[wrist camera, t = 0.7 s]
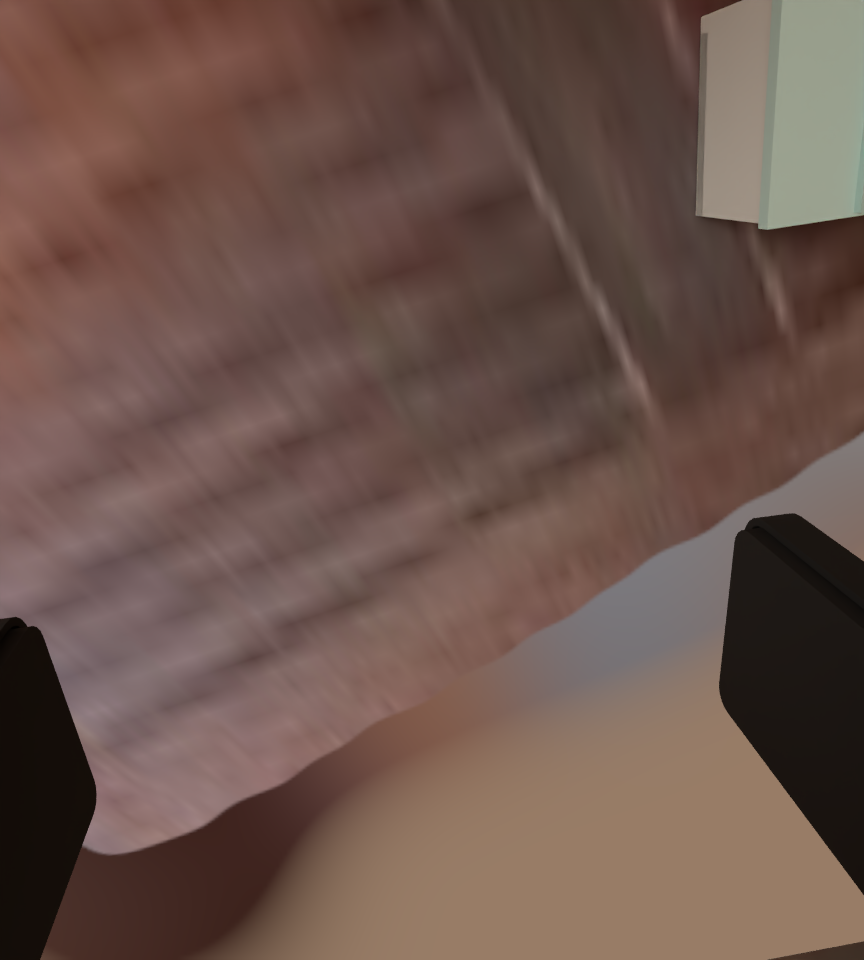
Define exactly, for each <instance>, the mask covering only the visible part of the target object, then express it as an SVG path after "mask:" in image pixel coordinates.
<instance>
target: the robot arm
mask: <svg viewBox="0 0 864 960" xmlns="http://www.w3.org/2000/svg"><path fill="white" fill-rule="evenodd" d="M719 690H720V696H721V699H722V702H723V705H724V707H725V709H726V710H727V712H728V714H729V715H730V716H731V718H732V719H733V720H734V722H735V723H736V724H737V726H738V727H739V728H740V730H741V731H742V732H743V734H744V735H745V736H746V738H747V739H748V740H749V742H750V743H751V744H752V746H753V747H754V749H755V750H756V751H757V753H758V754H759V755H760V757H761V758H762V759H763V760H764V762H765V763H766V764H767V766H768V767H769V769H770V770H771V771H772V773H773V774H774V775H775V777H776V778H777V779H778V780H779V782H780V783H781V785H782V786H783V787H784V789H785V790H786V791H787V793H788V794H789V795H790V797H791V798H792V799H793V801H794V802H795V803H796V805H797V806H798V807H799V809H800V810H801V811H802V813H803V814H804V815H805V817H806V818H807V820H808V821H809V822H810V824H811V825H812V826H813V828H814V829H815V830H816V831H817V833H818V834H819V836H820V837H821V838H822V839H823V841H824V842H825V844H826V845H827V846H828V848H829V849H830V850H831V852H832V853H833V854H834V856H835V857H836V858H837V860H838V861H839V862H840V864H841V865H842V866H843V868H844V869H845V870H846V872H847V873H848V874H849V876H850V877H851V878H852V880H853V881H854V883H855V884H856V885H857V886H858V888H859V889H860V890H861V892H862V893H863V895H864V561H862V560H861V559H859V558H858V557H857V556H855V555H854V554H852V553H851V552H850V551H848V550H847V549H845V548H844V547H843V546H841V545H840V544H838V543H837V542H836V541H834V540H833V539H831V538H830V537H829V536H827V535H826V534H824V533H823V532H822V531H820V530H819V529H818V528H816V527H815V526H813V525H812V524H811V523H809V522H808V521H806V520H805V519H804V518H802V517H801V516H799V515H797V514H783V515H776V516H769V517H760V518H753V519H752V520H750V521H749V522H748V524H747V526H746V528H745V530H741V531H740V532H738V534H737V536H736V538H735V543H734V552H733V562H732V571H731V580H730V589H729V599H728V608H727V617H726V626H725V635H724V644H723V654H722V663H721V672H720V681H719ZM95 806H96V785H95V781H94V778H93V775H92V772H91V770H90V767H89V764H88V761H87V758H86V756H85V753H84V750H83V747H82V744H81V742H80V739H79V736H78V733H77V730H76V727H75V725H74V722H73V719H72V716H71V713H70V711H69V708H68V705H67V702H66V699H65V697H64V694H63V691H62V688H61V685H60V683H59V680H58V677H57V674H56V671H55V668H54V666H53V663H52V660H51V657H50V654H49V652H48V649H47V646H46V643H45V640H44V638H43V635H42V633H41V631H40V630H39V629H38V628H37V627H35V626H31V627H27V625H26V624H25V623H24V622H23V620H22V619H20V618H17V617H13V618H5V619H0V960H40V958H41V955H42V953H43V950H44V947H45V945H46V942H47V939H48V936H49V934H50V931H51V928H52V926H53V923H54V920H55V917H56V915H57V912H58V909H59V907H60V904H61V901H62V899H63V896H64V893H65V890H66V888H67V885H68V882H69V879H70V876H71V874H72V871H73V869H74V866H75V863H76V860H77V858H78V855H79V852H80V849H81V847H82V844H83V841H84V839H85V836H86V833H87V831H88V828H89V825H90V822H91V820H92V817H93V814H94V811H95ZM769 960H864V942H859V943H853V944H848V945H843V946H838V947H832V948H827V949H822V950H816V951H811V952H806V953H801V954H795V955H790V956H784V957H780V958H774V959H769Z"/></svg>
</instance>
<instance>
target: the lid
mask: <svg viewBox="0 0 864 960" xmlns="http://www.w3.org/2000/svg"><path fill="white" fill-rule="evenodd" d="M861 215H864V0H772V9H771V26H770V42H769V58H768V75H767V91H766V108H765V124H764V140H763V157H762V173H761V189H760V206H759V222H758V229H765V230H769V229H776V228H782V227H789V226H795V225H802V224H808V223H815V222H822V221H828V220H835V219H841V218H848V217H854V216H861Z"/></svg>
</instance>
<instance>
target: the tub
mask: <svg viewBox="0 0 864 960" xmlns="http://www.w3.org/2000/svg"><path fill="white" fill-rule="evenodd" d="M771 9H772V0H742V1H740V2H737V3H735V4H732V5H730V6H727V7H725V8H722V9H720V10H717V11H715V12H712V13H710V14H707V15H705V16H703V17H701V37H700V75H699V113H698V151H697V189H696V216H703V217H711V218H719V219H727V220H735V221H744V222H752V223H758V222H759V206H760V189H761V173H762V157H763V140H764V124H765V108H766V91H767V75H768V58H769V42H770V26H771Z"/></svg>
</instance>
